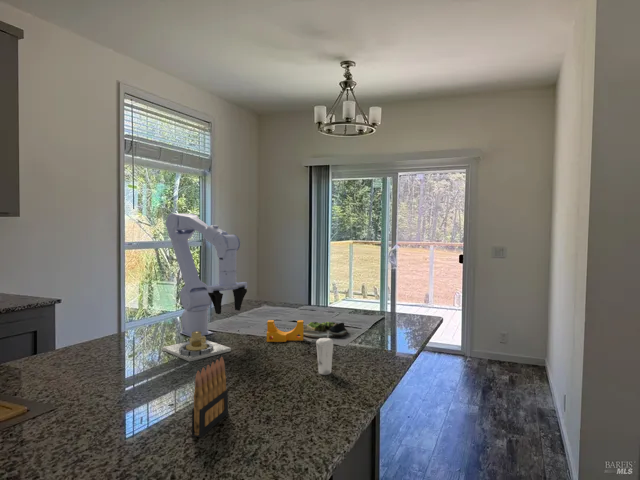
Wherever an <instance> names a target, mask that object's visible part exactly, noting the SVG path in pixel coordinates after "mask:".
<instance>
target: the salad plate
mask: <svg viewBox="0 0 640 480" xmlns="http://www.w3.org/2000/svg"><path fill="white" fill-rule="evenodd" d="M345 327H346V326H345V322H340V323H338V322H337V323H336V322H333V321H324V322H321V323H320V322H317V321H314V322H313V321H311V322H309V323H308V324H307V323H306V324H303V336H304V337H305V336H306V337H309V338H317V339H320V338H327V332H329V338H340V337H341V338H342V337H344V336H346V335H347V334H348V329H347V328H345Z"/></svg>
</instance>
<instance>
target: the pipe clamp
mask: <svg viewBox="0 0 640 480" xmlns="http://www.w3.org/2000/svg"><path fill="white" fill-rule="evenodd" d="M303 325H304V320H303V319H302V320H301V319H299V320H297V321H296V326H295V327H294V328H293V329H292V330H289V331H282V330H280V329H279V328H278V327H277V326H276V324H275V320H274V319H268V320H267V323H266V326H267V327H266V329H267V331H266V342H267V343H270V342H271V343H273V342H274V343H276V342H277V343H281V342H282V343H283V342H285V343H286V342H287V341H304V335H303ZM298 335H299V336H298Z"/></svg>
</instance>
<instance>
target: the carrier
mask: <svg viewBox="0 0 640 480" xmlns="http://www.w3.org/2000/svg"><path fill="white" fill-rule="evenodd" d="M201 343H205V344H207V349H203V350H196V351H189V350H186V346H187V345H188V344H192V337H190V336H189V340H188V341H184V342H181V343H176V344H172V345H167V346H162V351H163V352H165V353H168V354H170V355H173V356H175V357H177V358H180V359H182V360H185V361H187V362H188V363H189V362H190V363H191V362H194V361H197V360H201V359H206V358H209V357H213V356H217V355H221V354H225V353H229V352H232V351H231V350H232V349H231V347H229V346H226V345H222V344H219V343H217V342H214V341H211V340H208V339H207V337H206V335H204V336H201Z"/></svg>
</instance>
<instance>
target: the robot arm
mask: <svg viewBox="0 0 640 480" xmlns="http://www.w3.org/2000/svg"><path fill="white" fill-rule="evenodd" d="M165 227H166V230H167V234H168V236H169V238H170V242H171V246H172V248H173V251H174V254H175V257H176V261H177V264H178V267H179V270H180V274H181V277H182V280H183V283H184V286H183V287H182V288H181V290H180V292H179V293H180V302H181V306H182V307H183V309H184V310H183V312H182V315H181V331H179V334H181V335H185V336H187V337H189V338H190V337H192V332H194V331H201V336H208V335H213V334H214V332H213V331H210V330H209V317H208V316H209V311H208V309H210V306H211V305H213V308H214V312H215V314H216V315H221V314H222V301H223V295H224V293H221V292H224V291H230V290H231V291H232V293H233V297H234V298H233V299H234V302H233V303H234V311H238V312H240V311H241V308H242V303H243V301H244V298H245V296H246V294H247V292H248V282H247V281H240V282H238V281H237V278H238V276H237V273H238V272H237V269H238V267H237V264H238V263H237V261H238V260H237V251H238V250H240V247H241V241H240V238H239V236H238V235H236V234H235V233H231V234H229V233H228V231H226V230H223V229H221V228H219V225H218V224H213V225H212V224H211V225H209V224H207V223H206V222H204V221H203V220H202V219H200V218H199V216H198V215H196V214H195V213H174V212H171V213H169V214H168V215H167V218H166V221H165ZM195 231H196V232H198V233H199V234H201V235H203V236H202V237H203V239H204V240H206V241H207V242H209V243H210V244H211V245H213V246H214V248H215V251H216V255H217V257H218V284H217V283H216V284H213V285H208V284H206V283H205V282H204V281H202V280H201V279H200V277H199V273H198V271H197V267H196V264H195V261H194V257H193V255H192V252H191V251H192V250H191V249H190V245H189V243H188V240H189V239H191V238H192V237H193V234H194V233H195Z"/></svg>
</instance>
